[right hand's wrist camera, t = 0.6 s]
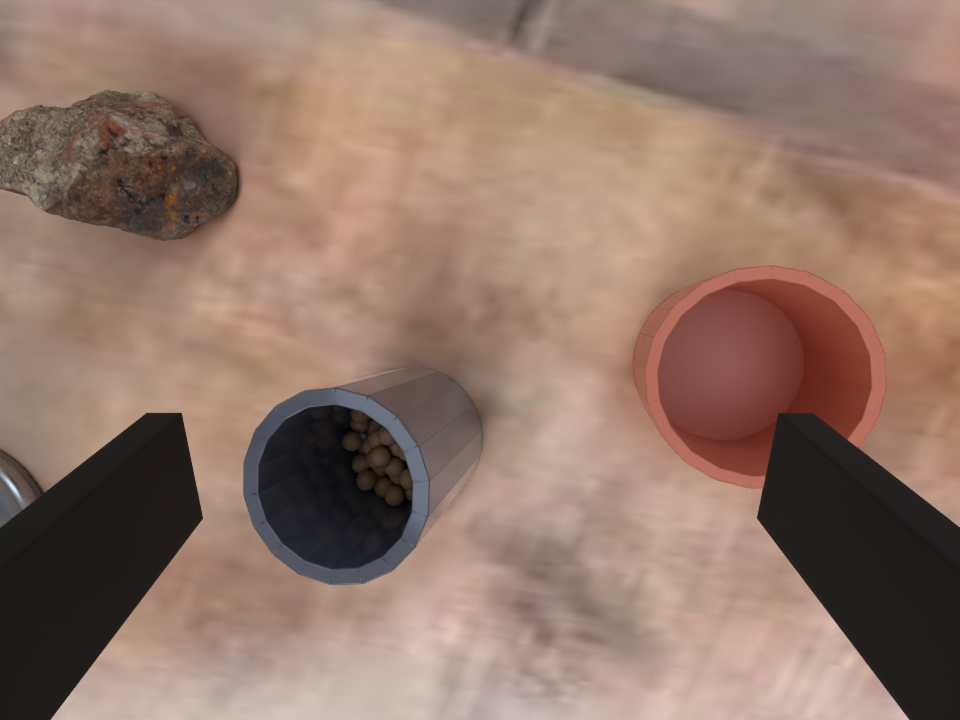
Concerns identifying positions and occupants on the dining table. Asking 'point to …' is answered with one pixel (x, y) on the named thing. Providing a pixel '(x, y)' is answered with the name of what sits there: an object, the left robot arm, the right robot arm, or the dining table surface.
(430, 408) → the beaker
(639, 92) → the dining table surface
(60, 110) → the rock
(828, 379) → the pot
